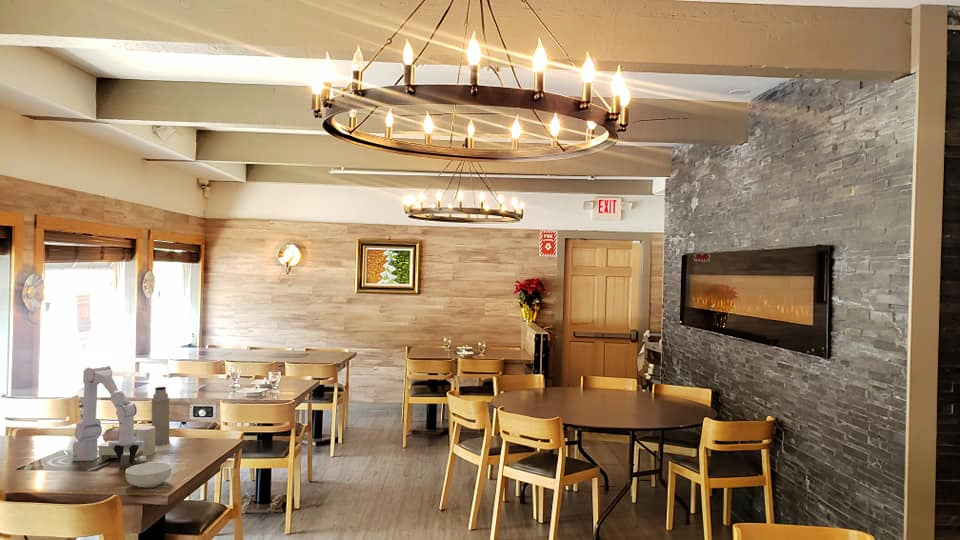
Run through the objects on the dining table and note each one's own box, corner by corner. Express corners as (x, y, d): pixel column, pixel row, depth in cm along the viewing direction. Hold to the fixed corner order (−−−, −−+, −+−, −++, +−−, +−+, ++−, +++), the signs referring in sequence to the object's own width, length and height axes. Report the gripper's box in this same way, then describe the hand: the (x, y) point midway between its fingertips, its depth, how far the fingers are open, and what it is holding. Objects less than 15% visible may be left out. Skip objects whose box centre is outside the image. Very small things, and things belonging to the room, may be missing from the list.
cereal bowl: (124, 494, 275) (124, 476, 275) (126, 481, 290) (126, 464, 290) (171, 488, 282) (171, 471, 282) (171, 476, 297) (171, 460, 297)
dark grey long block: (120, 469, 308) (120, 455, 307) (129, 459, 323) (129, 446, 323) (129, 468, 308) (129, 455, 308) (137, 459, 323) (137, 446, 323)
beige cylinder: (147, 455, 329) (147, 430, 329) (132, 454, 331) (132, 429, 330) (158, 451, 337) (158, 426, 337) (143, 450, 339) (143, 425, 338)
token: (132, 463, 317) (132, 458, 317) (136, 460, 322) (136, 455, 322) (144, 463, 317) (144, 457, 317) (148, 460, 322) (148, 454, 322)
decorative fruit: (116, 448, 342) (116, 427, 342) (100, 448, 342) (100, 427, 342) (126, 443, 351) (126, 423, 351) (110, 443, 351) (110, 423, 351)
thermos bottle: (163, 440, 357) (163, 385, 357) (172, 442, 353) (172, 386, 353) (148, 443, 351) (148, 387, 350) (158, 446, 346) (158, 389, 346)
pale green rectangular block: (98, 463, 317) (97, 446, 317) (107, 457, 326) (107, 440, 326) (135, 462, 318) (135, 445, 318) (144, 456, 327) (144, 440, 327)
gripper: (105, 433, 306) (105, 465, 306) (139, 433, 307) (139, 464, 307) (112, 430, 313) (112, 460, 313) (146, 429, 314) (146, 460, 314)
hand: (126, 462), depth 310 cm, fingers closed on dark grey long block, 4 cm apart
